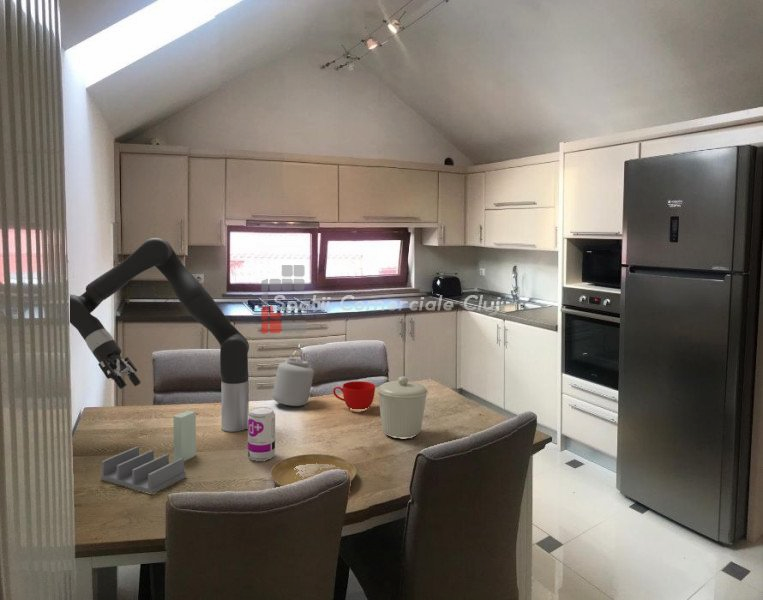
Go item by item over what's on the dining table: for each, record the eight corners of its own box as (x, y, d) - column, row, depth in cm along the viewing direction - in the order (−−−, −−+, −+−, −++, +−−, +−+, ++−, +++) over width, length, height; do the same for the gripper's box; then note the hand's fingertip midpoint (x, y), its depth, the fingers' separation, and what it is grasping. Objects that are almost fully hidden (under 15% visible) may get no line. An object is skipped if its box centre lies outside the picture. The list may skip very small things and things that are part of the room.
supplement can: (261, 464, 162) (262, 416, 160) (242, 458, 166) (242, 411, 164) (280, 455, 169) (280, 409, 167) (261, 449, 173) (261, 404, 171)
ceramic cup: (336, 403, 224) (337, 379, 222) (376, 405, 221) (377, 382, 220) (329, 412, 211) (329, 388, 210) (371, 416, 209) (372, 391, 207)
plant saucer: (316, 456, 170) (317, 446, 169) (373, 481, 154) (373, 470, 154) (252, 481, 152) (252, 470, 151) (309, 511, 136) (309, 499, 136)
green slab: (174, 460, 163) (173, 416, 161) (188, 453, 168) (188, 410, 167) (181, 462, 162) (180, 417, 160) (195, 455, 167) (195, 411, 166)
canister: (437, 435, 191) (439, 377, 188) (403, 448, 178) (406, 386, 175) (398, 422, 203) (400, 367, 201) (365, 433, 190) (366, 375, 187)
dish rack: (100, 479, 149) (100, 460, 148) (136, 463, 160) (135, 445, 159) (152, 495, 141) (151, 475, 141) (185, 477, 152) (185, 458, 152)
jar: (306, 396, 232) (307, 339, 229) (324, 405, 220) (325, 345, 217) (266, 402, 221) (266, 343, 218) (281, 413, 209) (282, 350, 206)
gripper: (98, 339, 168) (128, 381, 167) (124, 338, 182) (151, 376, 181) (80, 354, 168) (109, 395, 167) (107, 352, 183) (134, 390, 181)
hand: (131, 385), depth 174 cm, fingers open, 8 cm apart
